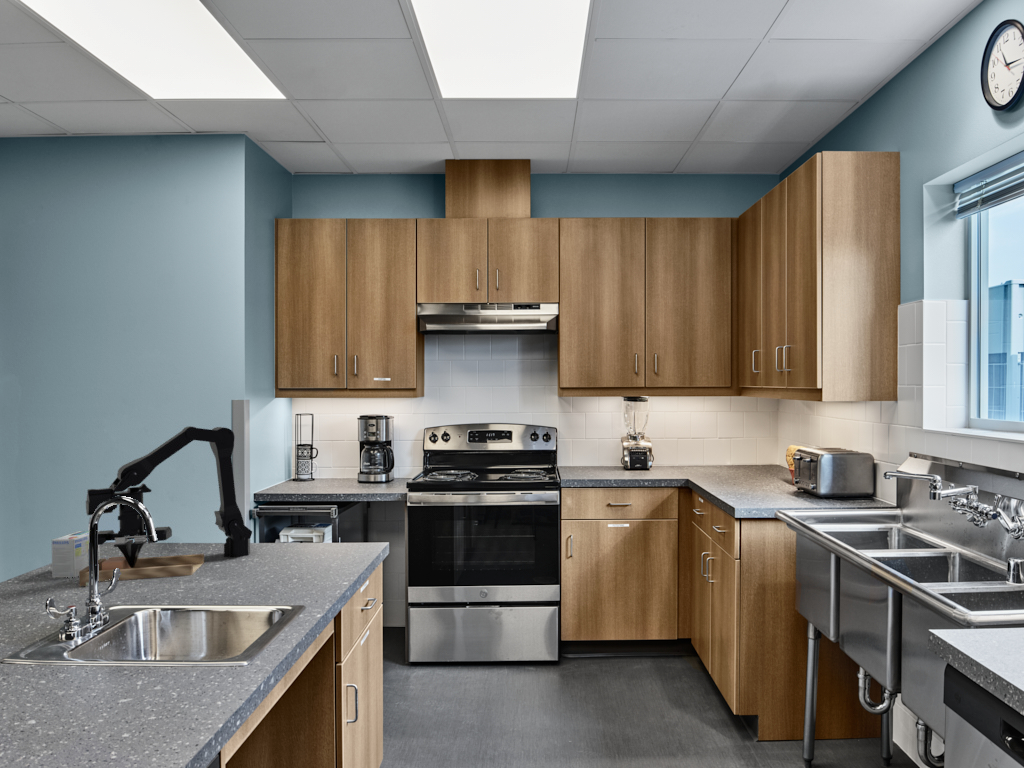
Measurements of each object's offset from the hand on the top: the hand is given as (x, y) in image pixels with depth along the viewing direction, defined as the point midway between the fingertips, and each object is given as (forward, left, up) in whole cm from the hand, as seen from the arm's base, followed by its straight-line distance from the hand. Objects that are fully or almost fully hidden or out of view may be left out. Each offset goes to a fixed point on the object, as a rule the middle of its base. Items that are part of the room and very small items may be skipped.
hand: (132, 567), depth 176 cm
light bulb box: (+17, -9, -3) cm, 20 cm away
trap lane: (-3, 0, -3) cm, 4 cm away
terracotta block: (+4, 0, -2) cm, 4 cm away
